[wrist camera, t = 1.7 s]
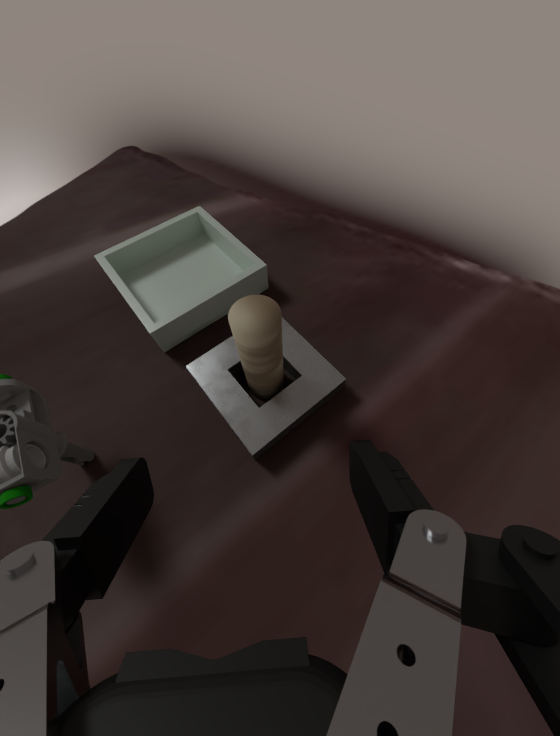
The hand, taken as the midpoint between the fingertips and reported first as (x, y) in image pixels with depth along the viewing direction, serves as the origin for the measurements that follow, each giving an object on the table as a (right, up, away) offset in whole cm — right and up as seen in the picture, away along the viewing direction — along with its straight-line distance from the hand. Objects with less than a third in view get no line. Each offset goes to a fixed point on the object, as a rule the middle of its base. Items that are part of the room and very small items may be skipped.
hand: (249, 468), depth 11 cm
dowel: (0, +2, +20) cm, 21 cm away
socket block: (0, +2, +20) cm, 21 cm away
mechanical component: (-18, -5, +17) cm, 26 cm away
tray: (-12, +16, +28) cm, 34 cm away
